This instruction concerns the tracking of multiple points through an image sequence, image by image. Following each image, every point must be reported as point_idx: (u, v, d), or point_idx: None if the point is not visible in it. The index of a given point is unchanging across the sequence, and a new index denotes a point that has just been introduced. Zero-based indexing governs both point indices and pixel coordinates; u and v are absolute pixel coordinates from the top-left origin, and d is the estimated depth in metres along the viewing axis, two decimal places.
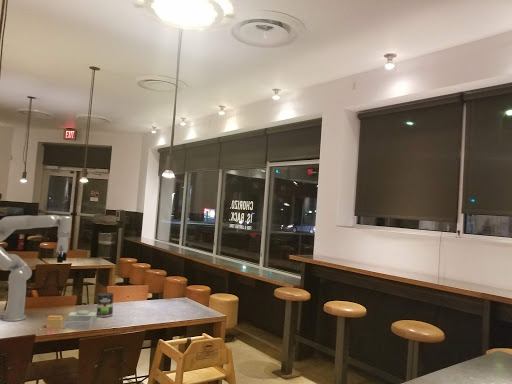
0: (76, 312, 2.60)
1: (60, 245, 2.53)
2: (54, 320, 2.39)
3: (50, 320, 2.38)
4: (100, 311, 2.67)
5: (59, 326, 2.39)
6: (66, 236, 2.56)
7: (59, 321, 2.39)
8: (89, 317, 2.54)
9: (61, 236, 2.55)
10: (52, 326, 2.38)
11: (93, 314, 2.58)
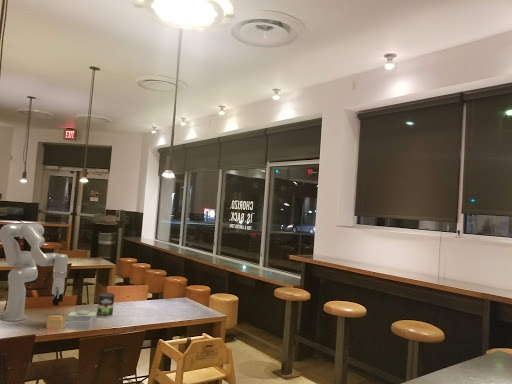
0: (76, 312, 2.60)
1: (56, 286, 2.37)
2: (54, 320, 2.39)
3: (50, 320, 2.38)
4: (100, 312, 2.67)
5: (59, 326, 2.39)
6: (62, 276, 2.40)
7: (59, 321, 2.39)
8: (89, 317, 2.54)
9: (57, 276, 2.39)
10: (52, 326, 2.38)
11: (93, 314, 2.58)
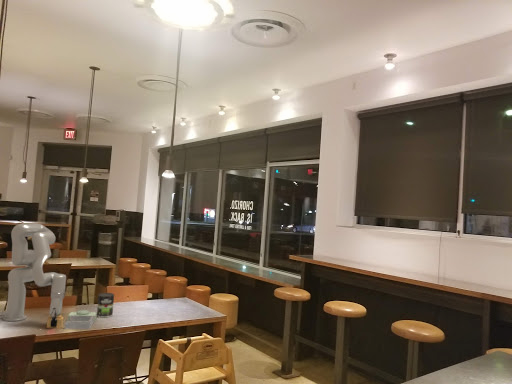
0: (76, 312, 2.60)
1: (54, 307, 2.36)
2: None
3: (50, 320, 2.38)
4: (100, 312, 2.67)
5: (59, 326, 2.39)
6: (60, 297, 2.39)
7: (59, 321, 2.39)
8: (89, 317, 2.54)
9: (54, 297, 2.38)
10: None
11: (93, 314, 2.58)
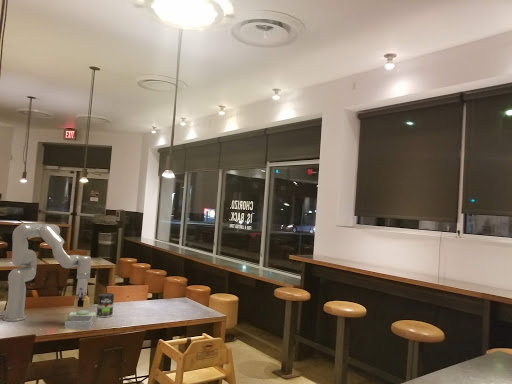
0: (76, 312, 2.60)
1: (80, 287, 2.43)
2: None
3: (77, 300, 2.45)
4: (100, 312, 2.67)
5: (86, 306, 2.46)
6: (86, 277, 2.46)
7: (86, 301, 2.46)
8: (89, 317, 2.54)
9: (81, 278, 2.44)
10: None
11: (93, 314, 2.58)
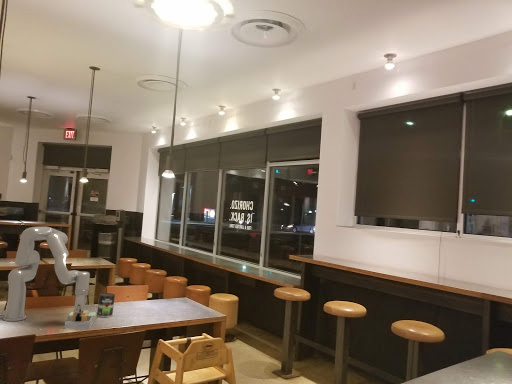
0: None
1: (78, 304, 2.42)
2: None
3: (75, 316, 2.44)
4: (101, 312, 2.67)
5: None
6: (84, 294, 2.45)
7: (84, 318, 2.45)
8: (89, 317, 2.54)
9: (79, 294, 2.44)
10: None
11: (93, 314, 2.58)
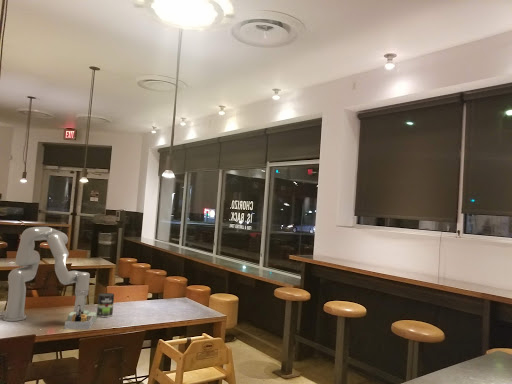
0: None
1: (78, 304, 2.42)
2: None
3: None
4: (101, 312, 2.67)
5: None
6: (84, 294, 2.45)
7: (83, 319, 2.45)
8: (89, 317, 2.54)
9: (79, 294, 2.44)
10: None
11: (93, 314, 2.58)
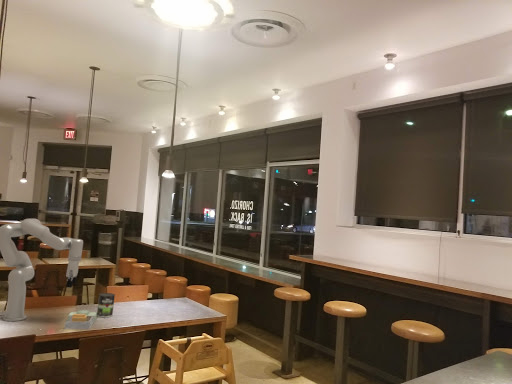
0: (76, 312, 2.60)
1: (70, 269, 2.48)
2: (79, 318, 2.44)
3: (75, 318, 2.44)
4: (101, 312, 2.67)
5: None
6: (77, 260, 2.51)
7: (83, 319, 2.45)
8: (89, 317, 2.54)
9: (71, 260, 2.50)
10: None
11: (93, 314, 2.58)
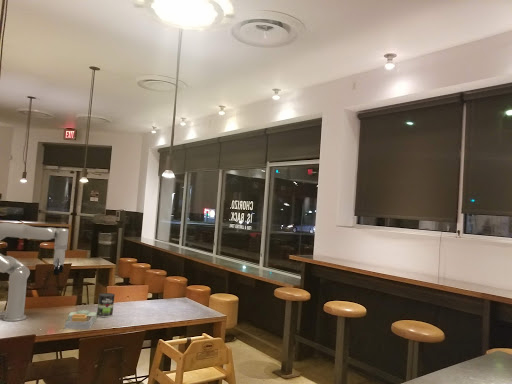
0: (76, 312, 2.60)
1: (57, 258, 2.55)
2: (79, 318, 2.44)
3: (75, 318, 2.44)
4: (101, 312, 2.67)
5: None
6: (63, 248, 2.58)
7: (83, 319, 2.45)
8: (89, 317, 2.54)
9: (58, 248, 2.57)
10: None
11: (93, 314, 2.58)
